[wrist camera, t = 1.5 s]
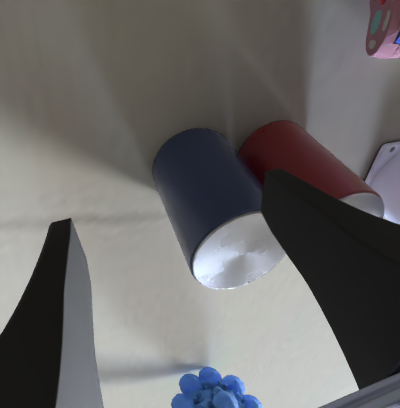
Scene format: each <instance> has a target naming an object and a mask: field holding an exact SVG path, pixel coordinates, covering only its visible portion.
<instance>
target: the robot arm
mask: <svg viewBox="0 0 400 408" xmlns="http://www.w3.org/2000/svg"><path fill="white" fill-rule="evenodd" d="M365 183H366V184H368V185H369V186H370V187H371V188H372V189H373V190H374V191H376V192H377V193H378V194H379V195H380V196H381V198H382V200H383V203H384V207H385V210H384V217H385V218H387V219H388V220H389V221H388V220H385V219H382V218H380V217H377V216H375V215H372V214H370V213H367V212H365V211H362V210H360V209H358V208H355V207H353V206H351V205H349V204H347V203H345V202H343V201H341V200H339V199H337V198H335V197H333V196H331V195H329V194H327V193H325V192H323V191H321V190H319V189H318V188H316V187H314V186H312V185H310V184H308V183H307V182H305V181H303V180H301V179H299V178H298V177H296V176H294V175H292V174H290V173H289V172H287V171H285V170H283V169H281V168H278V169H274V170H269V171H265V179H264V187H263V195H262V203H261V213H262V215H263V217H264V219H265V221H266V223H267V225H268V227H269V229H270V231H271V232H272V234H273V235H274V237H275V238H276V240H277V241H278V243H279V244H280V245H281V247H282V248H283V250H284V251H285V252H286V254H287V255H288V257H289V258H290V259H291V261H292V262H293V264H294V265H295V266H296V268H297V269H298V271H299V272H300V274H301V275H302V276H303V278H304V280H305V281H306V283H307V284H308V286H309V288H310V289H311V291H312V293H313V295H314V296H315V298H316V300H317V302H318V304H319V305H320V307H321V309H322V311H323V313H324V315H325V317H326V319H327V321H328V323H329V324H330V326H331V328H332V330H333V332H334V335H335V337H336V339H337V341H338V343H339V345H340V347H341V349H342V351H343V353H344V355H345V358H346V360H347V362H348V364H349V367H350V369H351V371H352V374H353V376H354V378H355V380H356V383H357V385H358V388H359V390H358V391H356V392H354V393H351V394H349V395H347V396H344V397H342V398H340V399H337V400H335V401H333V402H331V403H328V404H326V405H324V406H321V407H319V408H398V407H399V408H400V142H393V143H387V144H384V145H383V146H382V147H381V148H380V151H379V153H378V155H377V157H376V159H375V161H374V163H373V165H372V167H371V169H370V172H369V174H368V176H367V178H366V180H365ZM0 408H104V407H103V401H102V395H101V389H100V383H99V377H98V370H97V364H96V357H95V348H94V333H93V314H92V295H91V282H90V276H89V270H88V265H87V259H86V256H85V253H84V251H83V248H82V246H81V243H80V240H79V238H78V235H77V233H76V230H75V227H74V225H73V222H72V220H71V218H69V219H65V220H61V221H57V222H53V223H51V225H50V226H49V230H48V233H47V236H46V240H45V243H44V246H43V248H42V251H41V254H40V257H39V259H38V262H37V264H36V266H35V269H34V271H33V274H32V276H31V278H30V281H29V283H28V285H27V287H26V289H25V291H24V293H23V295H22V297H21V299H20V301H19V303H18V305H17V307H16V309H15V311H14V313H13V315H12V316H11V318H10V320H9V322H8V323H7V325H6V327H5V328H4V330H3V332H2V333H1V335H0Z"/></svg>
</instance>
